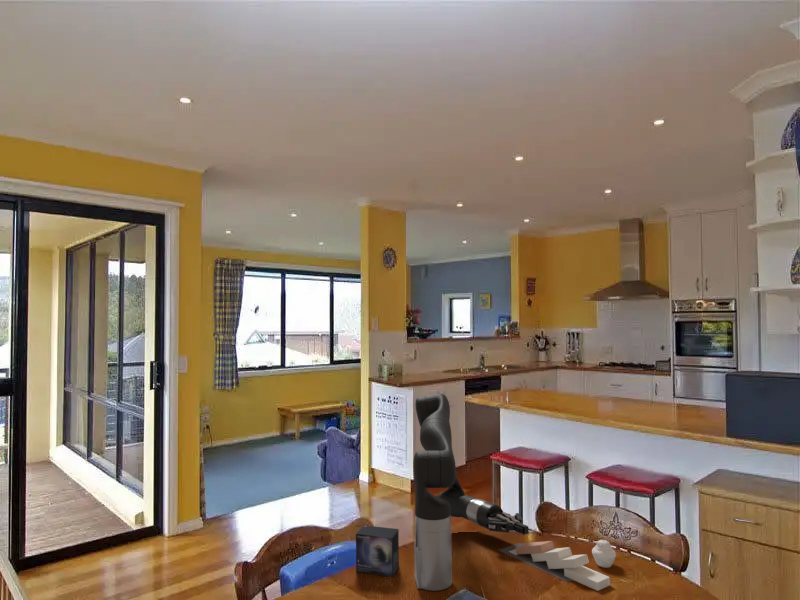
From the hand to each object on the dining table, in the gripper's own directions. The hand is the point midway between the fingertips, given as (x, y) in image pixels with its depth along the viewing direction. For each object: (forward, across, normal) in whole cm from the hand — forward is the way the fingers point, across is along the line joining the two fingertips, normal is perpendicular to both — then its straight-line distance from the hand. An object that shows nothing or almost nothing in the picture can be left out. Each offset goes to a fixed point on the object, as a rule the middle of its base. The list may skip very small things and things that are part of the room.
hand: (526, 530), depth 157 cm
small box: (-18, -39, +7) cm, 43 cm away
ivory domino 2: (+10, 0, +6) cm, 11 cm away
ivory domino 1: (+4, 0, +6) cm, 7 cm away
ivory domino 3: (+15, 0, +6) cm, 16 cm away
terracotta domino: (-2, 0, +6) cm, 6 cm away
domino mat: (+5, 0, +7) cm, 9 cm away
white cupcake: (+17, +12, +7) cm, 22 cm away
